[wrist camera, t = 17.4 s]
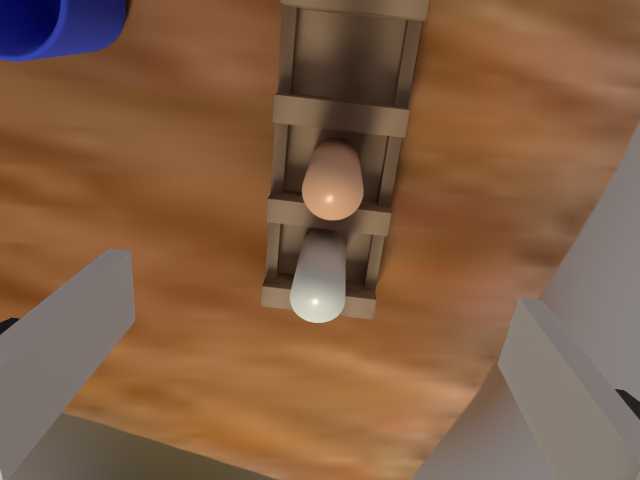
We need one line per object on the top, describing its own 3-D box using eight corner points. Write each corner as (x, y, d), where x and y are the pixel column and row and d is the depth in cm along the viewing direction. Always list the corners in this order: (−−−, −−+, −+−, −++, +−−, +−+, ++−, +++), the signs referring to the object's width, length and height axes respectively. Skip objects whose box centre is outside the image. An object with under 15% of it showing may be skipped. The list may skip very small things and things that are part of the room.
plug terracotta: (309, 182, 38) (299, 216, 29) (314, 135, 36) (304, 157, 28) (356, 187, 38) (359, 223, 29) (362, 140, 36) (367, 164, 28)
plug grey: (301, 266, 41) (289, 320, 33) (302, 226, 39) (290, 272, 31) (344, 269, 41) (343, 324, 32) (347, 229, 39) (347, 276, 31)
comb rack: (268, 284, 43) (260, 306, 39) (289, -22, 33) (282, -32, 29) (370, 296, 43) (372, 319, 39) (422, -6, 33) (432, -15, 29)
